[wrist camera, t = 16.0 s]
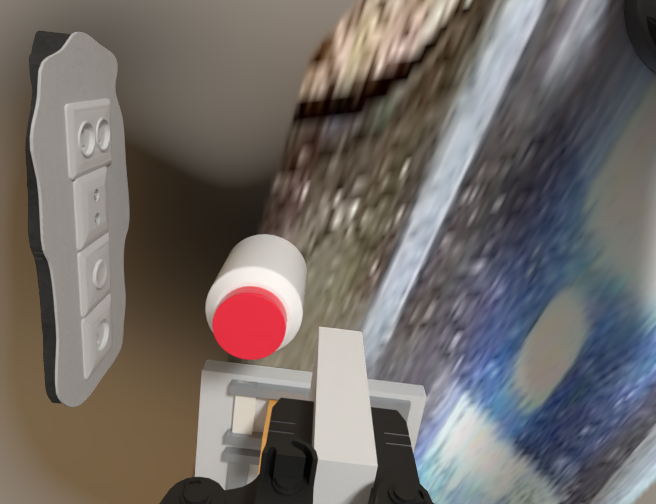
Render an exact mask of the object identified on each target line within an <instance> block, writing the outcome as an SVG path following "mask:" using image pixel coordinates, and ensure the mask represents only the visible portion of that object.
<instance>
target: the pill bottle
mask: <svg viewBox="0 0 656 504" xmlns="http://www.w3.org/2000/svg"><path fill="white" fill-rule="evenodd" d="M306 282H307V267H306V264H305V260H304V258H303V257H302V255H301V253H300V252H299V250H298V249H297V248H296V247H295V246H294V245H293V244H291V243H290V242H289V241H287V240H285V239H283V238H281V237H278V236H275V235H268V234H262V235H255V236H251V237H248V238H246V239H244V240H242V241H241V242H240V243H238V244H237V245H236V246H235V247H234V248H233V249H232V251H231V252H230V254H229V256H228V258H227V259H226V261H225V263H224V265H223V267H222V268H221V271H220V272H219V274H218V276H217V278H216V279H215V281H214V283H213V285H212V287H211V289H210V291H209V292H208V296H207V299H206V306H205V312H206V319H207V322H208V324H209V327H210V329H211V330H212V332H213V334H214V336H215V339H216V341H217V342H218V344H219V345H220V346H221V347H222V348H223V349H224V350H225V351H226V352H228V353H229V354H231V355H233V356H235V357H238V358H241V359H247V360H255V359H260V358H264V357H266V356H269V355H270V354H272V353H273V352H275V351H277V350H279V349H281V348H283V347H284V346H285V345H287V344H288V343H289V342H290V341H291V340H292V339H293V338H294V337H295V335H296V334H297V332H298V330H299V328H300V325H301V322H302V316H303V308H304V299H305V290H306Z"/></svg>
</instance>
